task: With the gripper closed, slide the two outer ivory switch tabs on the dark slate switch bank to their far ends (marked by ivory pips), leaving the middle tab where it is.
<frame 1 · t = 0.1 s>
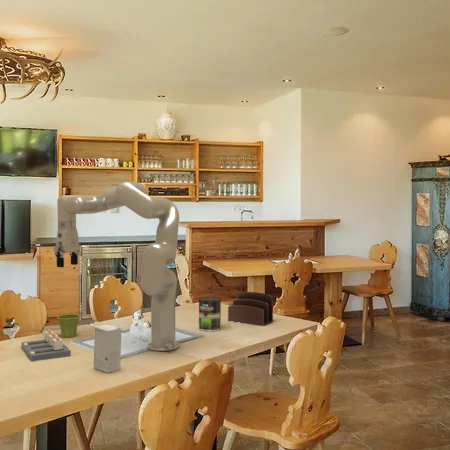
hand: (67, 265, 226), 31 cm above the table, tool pointing down, fingers open, 9 cm apart
coffee can: (210, 329, 243), on the table
tab 3: (49, 335, 214), point 5 cm above the table, slide at 0.0 cm
skincare box: (107, 369, 184), on the table
letter holder: (250, 322, 258), on the table
plant pot: (68, 336, 231), on the table
tab 2: (53, 338, 208), point 5 cm above the table, slide at 0.0 cm
switch bank: (45, 351, 207), on the table
tab 1: (57, 342, 202), point 5 cm above the table, slide at 0.0 cm
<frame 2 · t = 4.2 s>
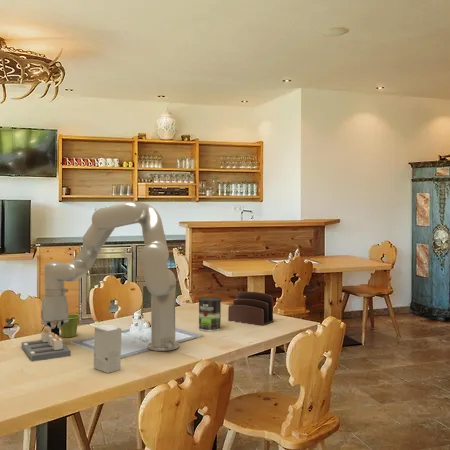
hand: (55, 337, 215), 3 cm above the table, tool pointing down, fingers closed
tab 3: (46, 335, 214), point 5 cm above the table, slide at 1.2 cm, touching gripper
everything else where it was.
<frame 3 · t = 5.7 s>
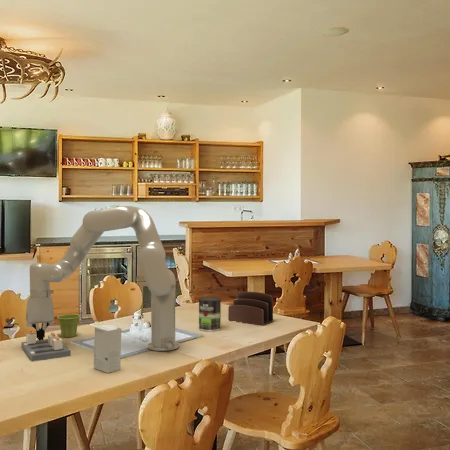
hand: (40, 339, 213), 3 cm above the table, tool pointing down, fingers closed
tab 3: (31, 337, 211), point 5 cm above the table, slide at 7.0 cm, touching gripper
everything else where it was.
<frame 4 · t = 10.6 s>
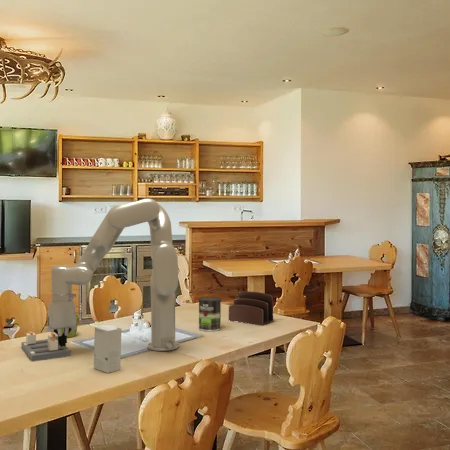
hand: (62, 345, 203), 3 cm above the table, tool pointing down, fingers closed
tab 3: (31, 337, 211), point 5 cm above the table, slide at 7.0 cm
tab 1: (52, 343, 201), point 5 cm above the table, slide at 1.6 cm, touching gripper
everything else where it was.
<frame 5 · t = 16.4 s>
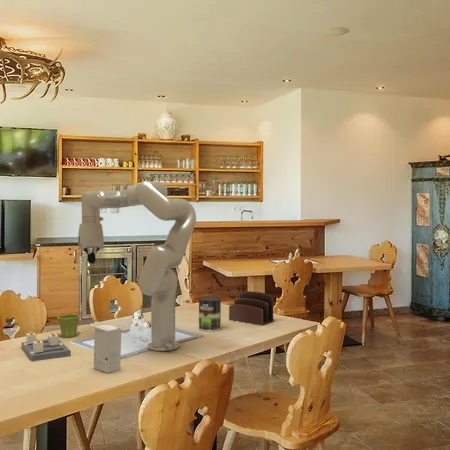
hand: (91, 263, 227), 32 cm above the table, tool pointing down, fingers closed
tab 1: (38, 345, 199), point 5 cm above the table, slide at 7.0 cm
at the end: tab 1 slide at 7.0 cm; tab 3 slide at 7.0 cm; tab 2 slide at 0.0 cm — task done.
